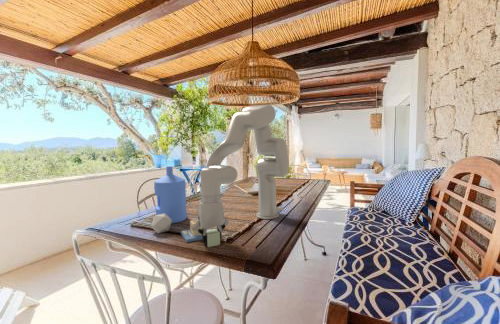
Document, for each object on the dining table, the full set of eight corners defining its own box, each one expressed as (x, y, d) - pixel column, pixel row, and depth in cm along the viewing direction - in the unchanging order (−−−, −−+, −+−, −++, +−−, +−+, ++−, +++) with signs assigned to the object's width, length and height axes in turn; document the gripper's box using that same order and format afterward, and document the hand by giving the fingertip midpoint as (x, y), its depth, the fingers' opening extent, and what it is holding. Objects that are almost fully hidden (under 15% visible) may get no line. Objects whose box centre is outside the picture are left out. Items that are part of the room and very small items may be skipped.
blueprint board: (206, 228, 115) (206, 226, 115) (214, 236, 106) (214, 233, 106) (180, 233, 110) (180, 230, 110) (186, 242, 100) (186, 239, 100)
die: (168, 227, 119) (154, 213, 117) (178, 221, 115) (165, 206, 113) (158, 239, 112) (143, 224, 110) (168, 234, 108) (154, 218, 106)
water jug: (191, 215, 136) (189, 165, 134) (180, 225, 121) (178, 168, 118) (164, 214, 138) (161, 165, 135) (150, 224, 122) (147, 168, 120)
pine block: (201, 229, 111) (200, 218, 111) (204, 233, 107) (204, 222, 106) (190, 231, 109) (189, 220, 108) (193, 235, 104) (192, 224, 104)
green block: (215, 240, 102) (215, 228, 102) (220, 244, 98) (219, 232, 98) (204, 242, 100) (203, 230, 100) (208, 247, 96) (207, 234, 95)
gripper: (227, 194, 105) (228, 235, 106) (187, 199, 97) (188, 243, 98) (234, 197, 98) (235, 241, 100) (192, 203, 90) (193, 251, 92)
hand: (212, 242), depth 99 cm, fingers closed on green block, 5 cm apart
